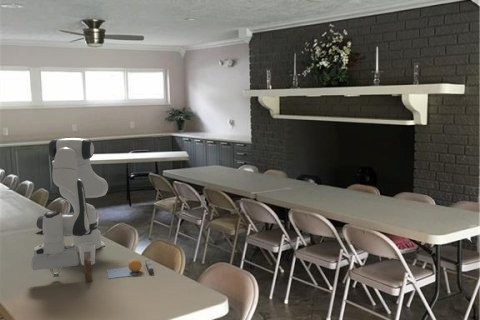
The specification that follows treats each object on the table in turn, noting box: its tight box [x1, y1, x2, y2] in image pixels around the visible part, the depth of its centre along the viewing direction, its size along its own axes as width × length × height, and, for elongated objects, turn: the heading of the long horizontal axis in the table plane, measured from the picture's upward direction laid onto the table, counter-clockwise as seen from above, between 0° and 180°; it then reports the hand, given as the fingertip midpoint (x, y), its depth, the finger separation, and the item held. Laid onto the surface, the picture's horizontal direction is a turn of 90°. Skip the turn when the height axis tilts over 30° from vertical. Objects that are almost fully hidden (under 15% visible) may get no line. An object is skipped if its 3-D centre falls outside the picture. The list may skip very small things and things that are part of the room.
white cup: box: [78, 242, 96, 266], centre depth 258 cm, size 8×8×10 cm
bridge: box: [83, 251, 93, 283], centre depth 239 cm, size 3×15×10 cm, turn 17°
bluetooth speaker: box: [36, 215, 44, 230], centre depth 325 cm, size 23×9×10 cm, turn 73°
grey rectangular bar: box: [145, 259, 155, 275], centre depth 248 cm, size 14×2×2 cm, turn 17°
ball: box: [128, 258, 143, 273], centre depth 245 cm, size 6×6×6 cm
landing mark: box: [106, 266, 138, 280], centre depth 244 cm, size 13×13×1 cm
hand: (56, 276), depth 236 cm, fingers closed
